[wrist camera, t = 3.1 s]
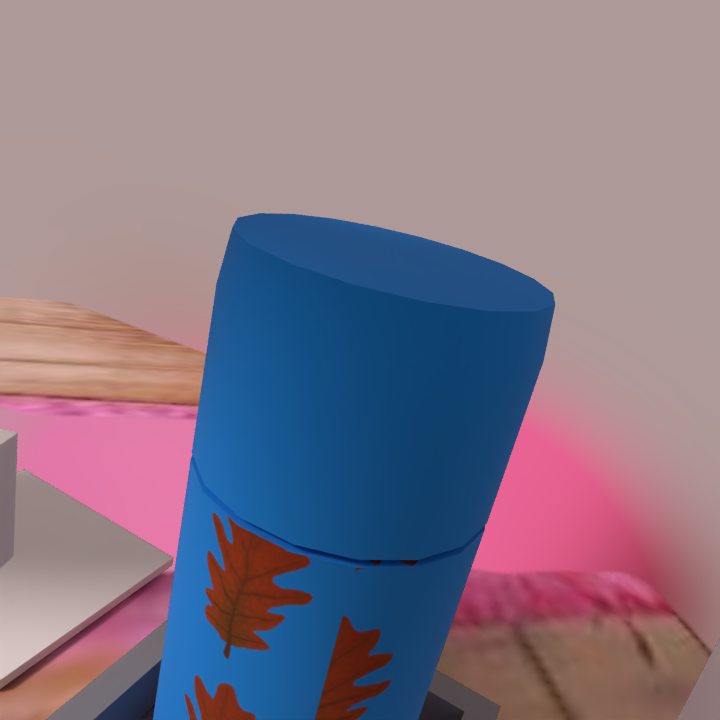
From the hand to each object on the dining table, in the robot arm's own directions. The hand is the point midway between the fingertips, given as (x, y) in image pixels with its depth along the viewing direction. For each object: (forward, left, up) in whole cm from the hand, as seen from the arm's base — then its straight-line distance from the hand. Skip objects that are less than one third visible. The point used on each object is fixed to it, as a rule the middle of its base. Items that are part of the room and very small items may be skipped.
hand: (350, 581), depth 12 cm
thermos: (-5, +10, -21) cm, 24 cm away
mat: (-25, +12, -21) cm, 34 cm away
